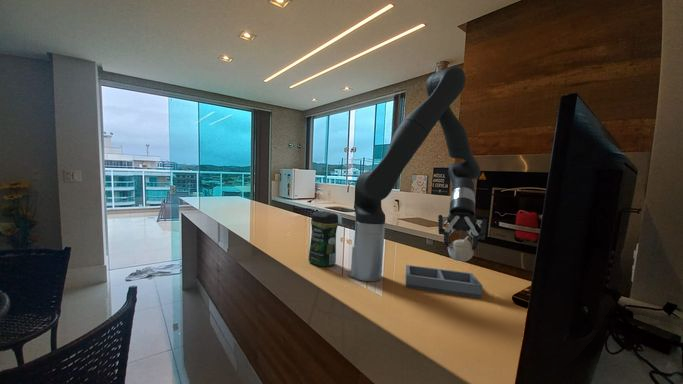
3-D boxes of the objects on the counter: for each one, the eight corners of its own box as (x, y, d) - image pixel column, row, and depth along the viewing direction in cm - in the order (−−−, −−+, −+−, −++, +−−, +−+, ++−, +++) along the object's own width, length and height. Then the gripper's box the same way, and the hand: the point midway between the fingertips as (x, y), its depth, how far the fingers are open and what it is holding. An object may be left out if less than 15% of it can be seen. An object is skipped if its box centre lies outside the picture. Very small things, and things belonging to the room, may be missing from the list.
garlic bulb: (449, 262, 76) (451, 234, 75) (445, 256, 82) (447, 230, 82) (474, 265, 74) (476, 236, 74) (468, 259, 80) (470, 232, 80)
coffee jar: (304, 262, 94) (307, 210, 94) (320, 258, 100) (323, 209, 100) (323, 269, 88) (326, 213, 87) (339, 264, 94) (342, 212, 93)
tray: (405, 287, 76) (406, 275, 76) (405, 275, 87) (406, 264, 87) (481, 298, 72) (482, 285, 71) (471, 284, 82) (472, 273, 82)
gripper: (439, 195, 87) (433, 236, 77) (488, 198, 81) (490, 243, 71) (438, 209, 92) (434, 250, 82) (485, 213, 86) (486, 258, 76)
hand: (460, 246), depth 76 cm, fingers closed on garlic bulb, 6 cm apart
